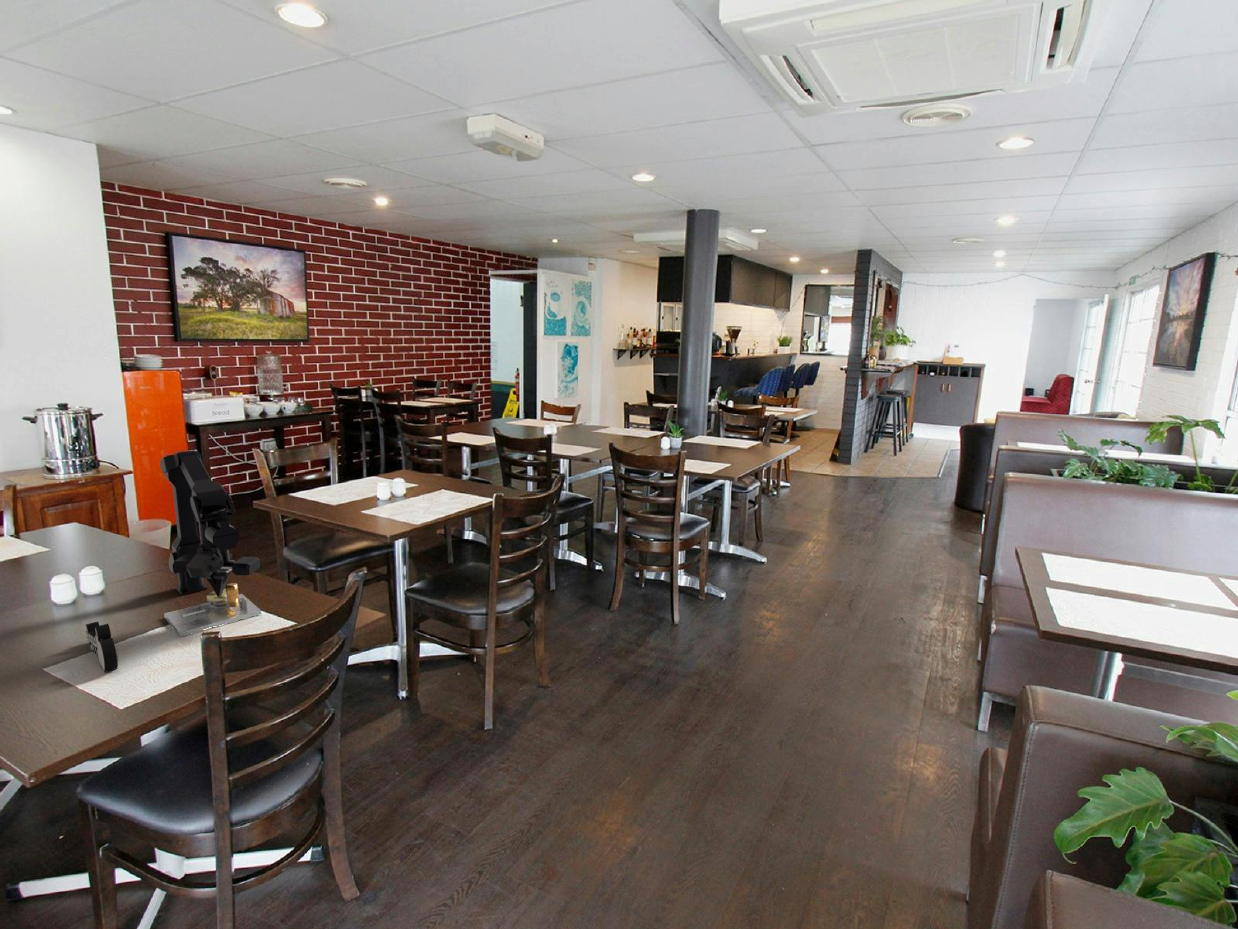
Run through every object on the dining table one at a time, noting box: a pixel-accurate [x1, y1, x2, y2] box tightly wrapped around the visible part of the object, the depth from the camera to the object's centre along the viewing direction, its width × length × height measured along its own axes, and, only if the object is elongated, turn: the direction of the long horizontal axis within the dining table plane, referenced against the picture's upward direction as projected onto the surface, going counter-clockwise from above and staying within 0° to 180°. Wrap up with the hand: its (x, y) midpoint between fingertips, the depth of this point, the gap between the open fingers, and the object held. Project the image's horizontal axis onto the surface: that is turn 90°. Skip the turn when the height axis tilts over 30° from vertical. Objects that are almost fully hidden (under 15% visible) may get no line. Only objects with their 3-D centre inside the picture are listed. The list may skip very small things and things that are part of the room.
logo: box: [85, 620, 119, 673], centre depth 144 cm, size 21×2×10 cm, turn 47°
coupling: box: [206, 582, 240, 607], centre depth 166 cm, size 12×6×6 cm, turn 51°
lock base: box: [163, 593, 262, 638], centre depth 165 cm, size 15×18×4 cm
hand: (219, 596), depth 163 cm, fingers closed
